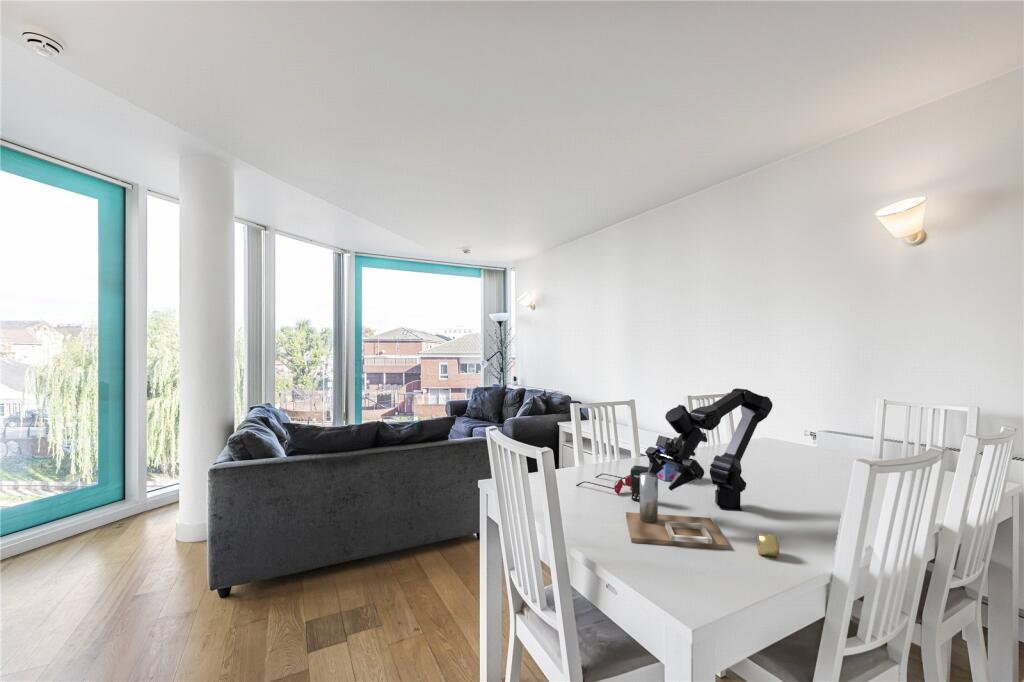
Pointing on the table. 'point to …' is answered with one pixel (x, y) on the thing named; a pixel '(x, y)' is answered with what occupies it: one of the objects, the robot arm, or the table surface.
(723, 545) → the board
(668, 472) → the ink cartridge box
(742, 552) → the table surface
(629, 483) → the glasses
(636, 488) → the battery charger
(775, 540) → the shiny gold nugget
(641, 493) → the grey cylinder
